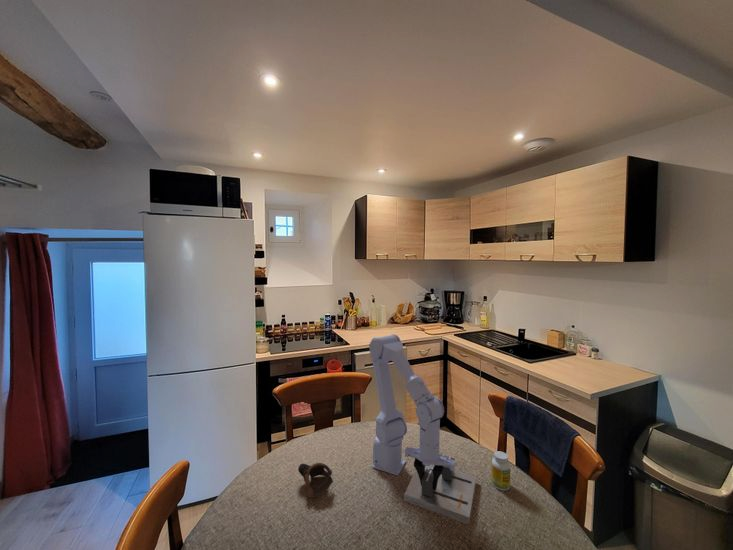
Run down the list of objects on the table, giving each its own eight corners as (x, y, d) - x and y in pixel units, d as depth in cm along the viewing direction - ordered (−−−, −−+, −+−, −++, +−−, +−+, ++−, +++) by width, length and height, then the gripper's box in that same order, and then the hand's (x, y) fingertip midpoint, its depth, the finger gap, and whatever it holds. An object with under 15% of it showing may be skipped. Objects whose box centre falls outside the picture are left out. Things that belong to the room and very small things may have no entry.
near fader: (421, 493, 86) (421, 479, 86) (426, 482, 90) (426, 468, 90) (431, 497, 84) (432, 482, 84) (435, 485, 89) (436, 471, 89)
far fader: (441, 478, 92) (442, 464, 92) (445, 468, 97) (445, 455, 96) (451, 481, 91) (451, 467, 91) (454, 471, 95) (454, 458, 95)
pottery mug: (337, 478, 95) (338, 466, 91) (323, 511, 88) (323, 499, 83) (305, 462, 99) (304, 449, 94) (288, 492, 91) (287, 479, 87)
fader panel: (404, 500, 86) (404, 493, 86) (420, 465, 101) (420, 459, 101) (469, 524, 78) (469, 517, 78) (476, 482, 93) (476, 476, 93)
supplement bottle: (497, 476, 96) (498, 447, 96) (513, 486, 92) (514, 456, 92) (487, 483, 93) (488, 453, 93) (503, 494, 89) (504, 462, 89)
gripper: (401, 441, 86) (401, 486, 87) (452, 455, 80) (451, 504, 81) (409, 429, 93) (408, 471, 93) (456, 441, 86) (455, 487, 87)
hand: (428, 485), depth 87 cm, fingers closed on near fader, 3 cm apart
